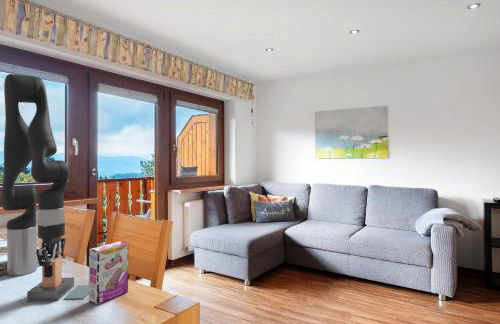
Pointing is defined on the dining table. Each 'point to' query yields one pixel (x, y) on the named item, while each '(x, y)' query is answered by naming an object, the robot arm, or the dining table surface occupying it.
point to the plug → (53, 275)
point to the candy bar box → (108, 272)
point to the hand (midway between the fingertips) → (52, 273)
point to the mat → (78, 292)
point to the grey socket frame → (50, 291)
